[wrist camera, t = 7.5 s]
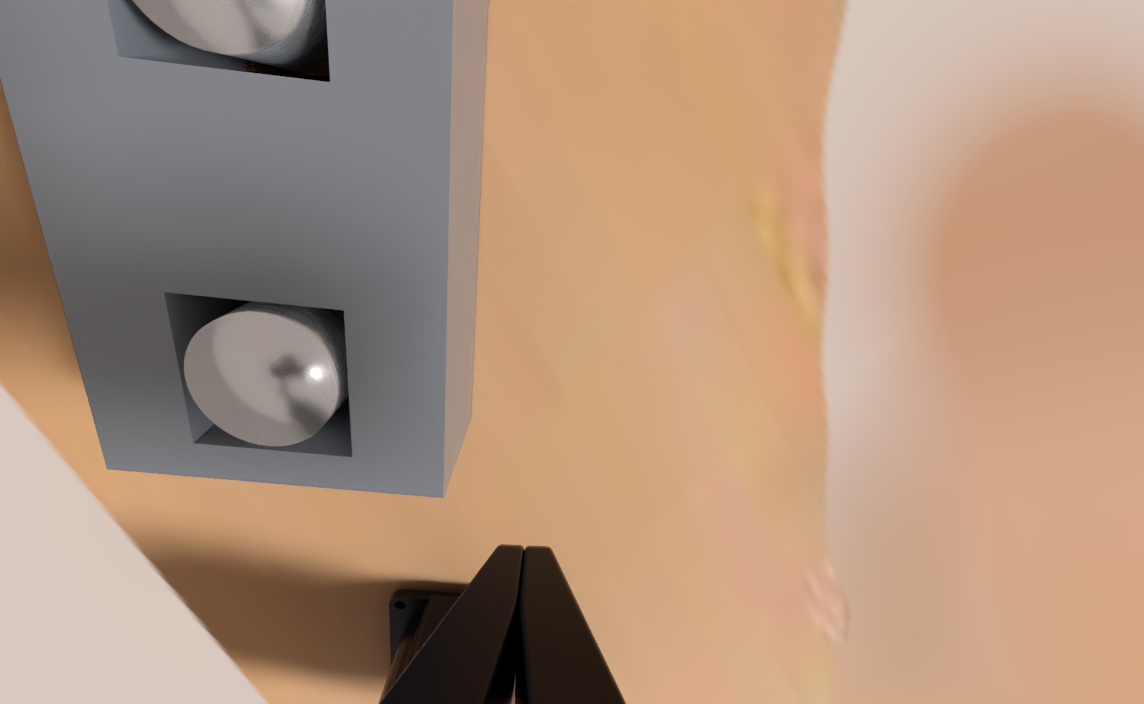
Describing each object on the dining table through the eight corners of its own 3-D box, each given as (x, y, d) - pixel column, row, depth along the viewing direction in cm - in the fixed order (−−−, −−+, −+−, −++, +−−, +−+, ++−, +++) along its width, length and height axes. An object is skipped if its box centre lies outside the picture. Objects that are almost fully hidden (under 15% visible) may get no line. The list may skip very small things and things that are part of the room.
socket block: (471, 417, 21) (443, 498, 16) (212, 392, 20) (107, 468, 16) (493, -126, 14) (458, -250, 10) (114, -180, 14) (-113, -336, 9)
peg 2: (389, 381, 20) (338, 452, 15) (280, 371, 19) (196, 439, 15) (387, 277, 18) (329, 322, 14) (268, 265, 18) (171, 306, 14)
